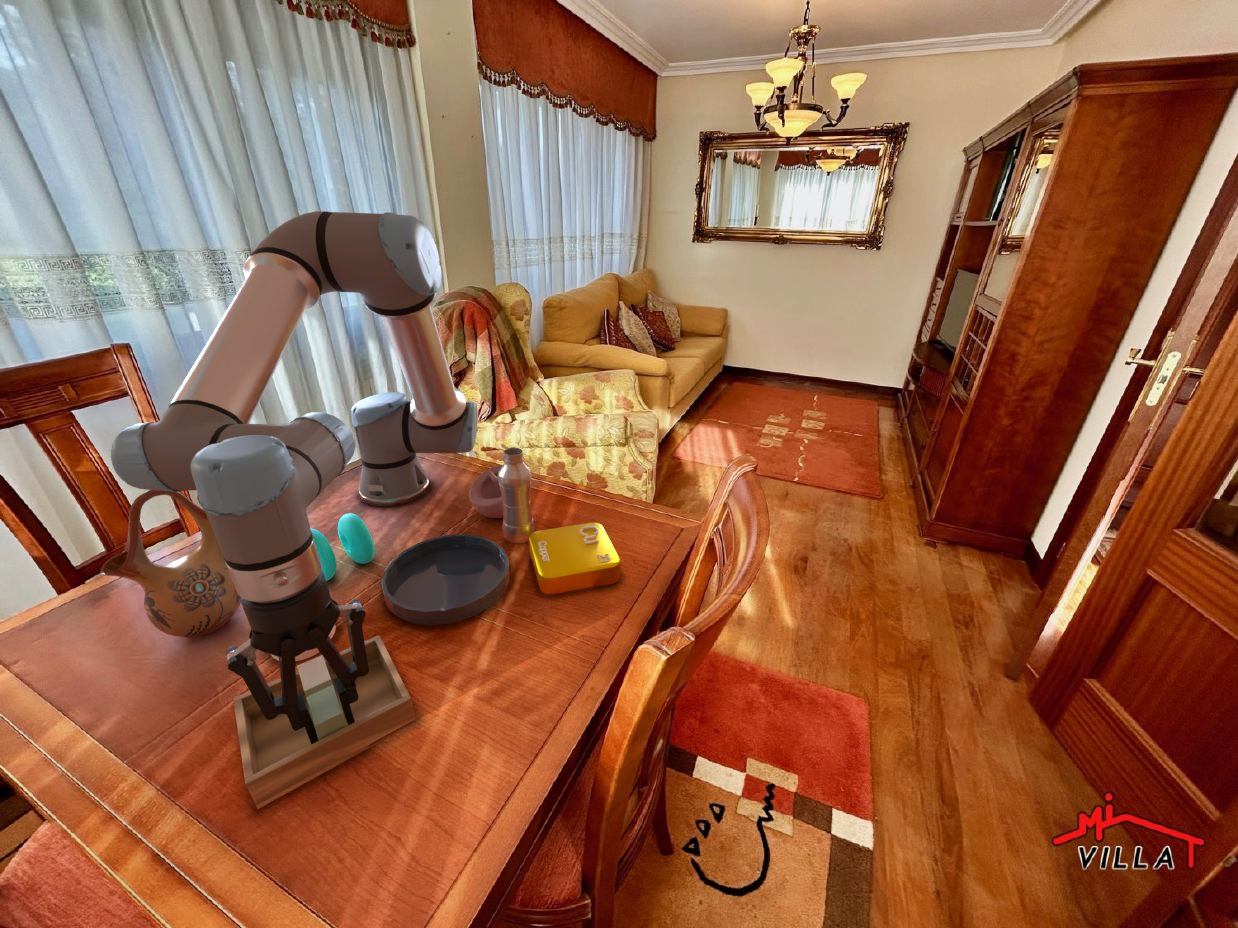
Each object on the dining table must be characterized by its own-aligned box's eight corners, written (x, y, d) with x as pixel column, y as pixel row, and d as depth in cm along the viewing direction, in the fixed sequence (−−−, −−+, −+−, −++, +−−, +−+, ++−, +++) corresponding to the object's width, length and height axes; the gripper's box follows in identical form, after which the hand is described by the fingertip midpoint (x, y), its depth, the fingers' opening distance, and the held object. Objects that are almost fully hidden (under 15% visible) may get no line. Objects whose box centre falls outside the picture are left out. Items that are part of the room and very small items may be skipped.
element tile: (528, 549, 100) (527, 529, 98) (600, 537, 105) (600, 518, 103) (541, 598, 88) (540, 577, 86) (622, 583, 92) (623, 562, 90)
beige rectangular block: (308, 696, 68) (296, 665, 65) (332, 685, 70) (322, 654, 67) (315, 723, 65) (304, 691, 62) (341, 710, 66) (330, 679, 64)
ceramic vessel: (248, 586, 88) (199, 459, 77) (279, 603, 85) (233, 473, 74) (133, 649, 75) (54, 507, 64) (165, 673, 72) (87, 527, 60)
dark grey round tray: (369, 576, 92) (365, 561, 90) (479, 536, 104) (477, 522, 102) (408, 648, 77) (405, 631, 75) (531, 591, 89) (530, 576, 88)
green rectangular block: (317, 728, 64) (305, 696, 61) (343, 716, 66) (332, 684, 63) (326, 758, 61) (314, 726, 58) (353, 744, 62) (342, 712, 60)
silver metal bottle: (529, 550, 100) (523, 460, 91) (497, 545, 101) (489, 456, 92) (540, 532, 106) (536, 446, 97) (510, 527, 107) (503, 442, 98)
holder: (244, 721, 65) (233, 697, 63) (384, 657, 75) (379, 634, 73) (257, 809, 56) (245, 784, 54) (416, 721, 66) (411, 698, 64)
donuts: (381, 568, 94) (371, 523, 89) (325, 594, 87) (311, 547, 83) (358, 545, 100) (348, 503, 95) (303, 568, 93) (289, 523, 89)
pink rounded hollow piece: (460, 514, 111) (454, 468, 106) (504, 495, 119) (500, 451, 114) (493, 535, 104) (489, 488, 99) (537, 513, 112) (535, 468, 107)
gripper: (182, 639, 45) (258, 795, 55) (376, 570, 54) (409, 714, 65) (180, 594, 50) (250, 745, 60) (357, 538, 60) (391, 676, 70)
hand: (332, 729), depth 63 cm, fingers open, 3 cm apart
